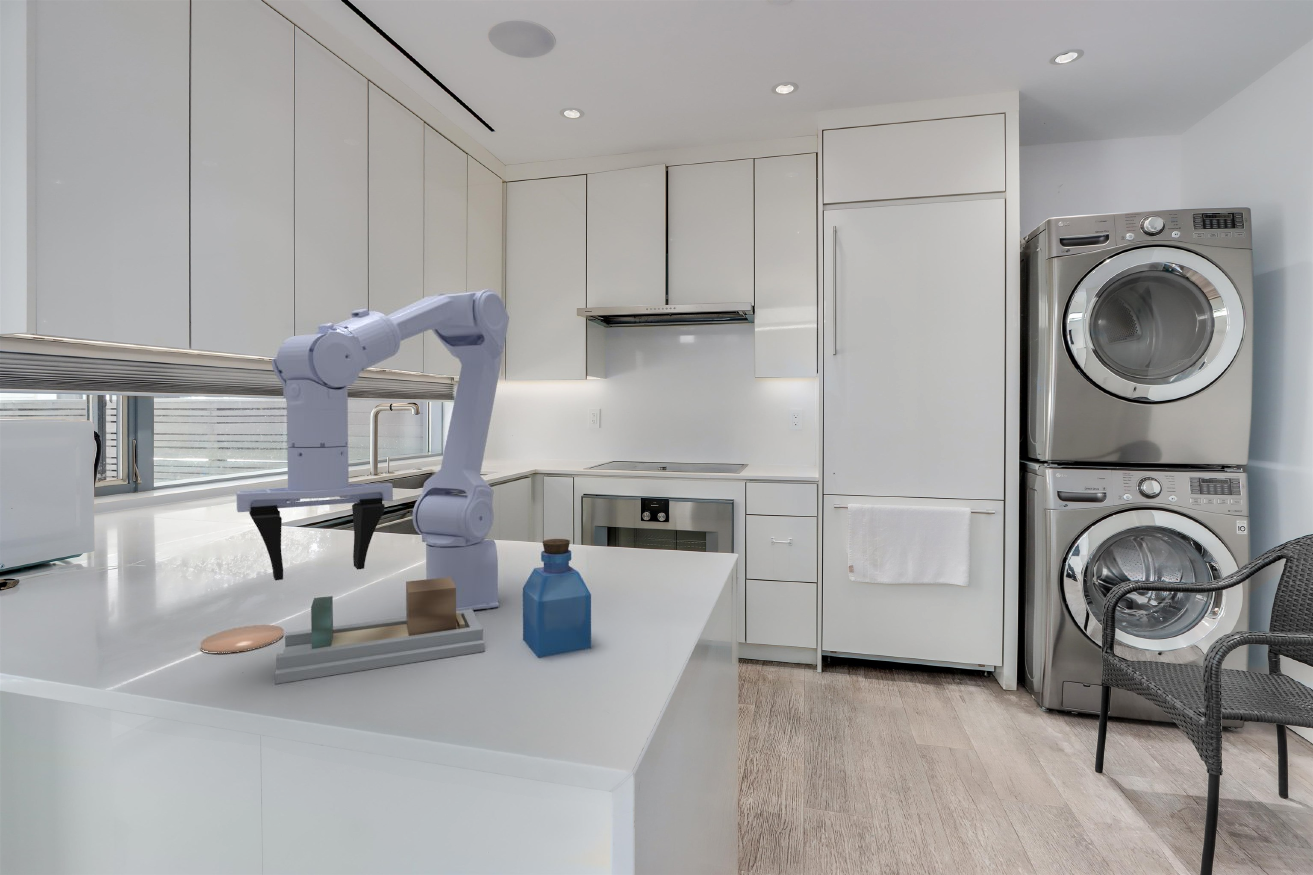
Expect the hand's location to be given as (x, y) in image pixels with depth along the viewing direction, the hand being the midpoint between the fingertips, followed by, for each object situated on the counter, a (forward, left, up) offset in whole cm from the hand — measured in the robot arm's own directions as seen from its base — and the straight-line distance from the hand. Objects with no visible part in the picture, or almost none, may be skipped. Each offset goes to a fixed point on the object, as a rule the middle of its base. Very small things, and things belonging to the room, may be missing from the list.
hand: (320, 572), depth 65 cm
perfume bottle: (-24, +6, -10) cm, 27 cm away
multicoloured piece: (-7, 0, -8) cm, 11 cm away
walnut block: (-11, 0, -8) cm, 13 cm away
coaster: (+9, -10, -9) cm, 16 cm away
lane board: (-6, 0, -9) cm, 11 cm away
